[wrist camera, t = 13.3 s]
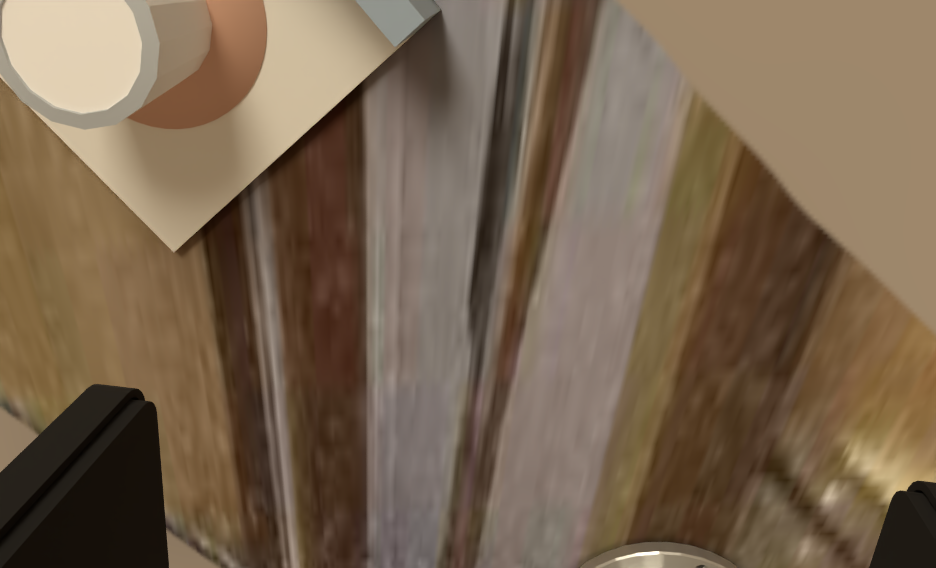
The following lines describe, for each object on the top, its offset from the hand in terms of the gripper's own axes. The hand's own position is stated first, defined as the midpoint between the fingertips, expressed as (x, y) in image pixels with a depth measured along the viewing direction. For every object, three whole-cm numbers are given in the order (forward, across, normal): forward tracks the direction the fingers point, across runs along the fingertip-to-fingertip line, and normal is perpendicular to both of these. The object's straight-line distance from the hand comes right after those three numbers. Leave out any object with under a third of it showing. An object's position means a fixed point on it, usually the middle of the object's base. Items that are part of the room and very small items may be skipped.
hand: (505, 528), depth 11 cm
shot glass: (+30, +18, -2) cm, 35 cm away
